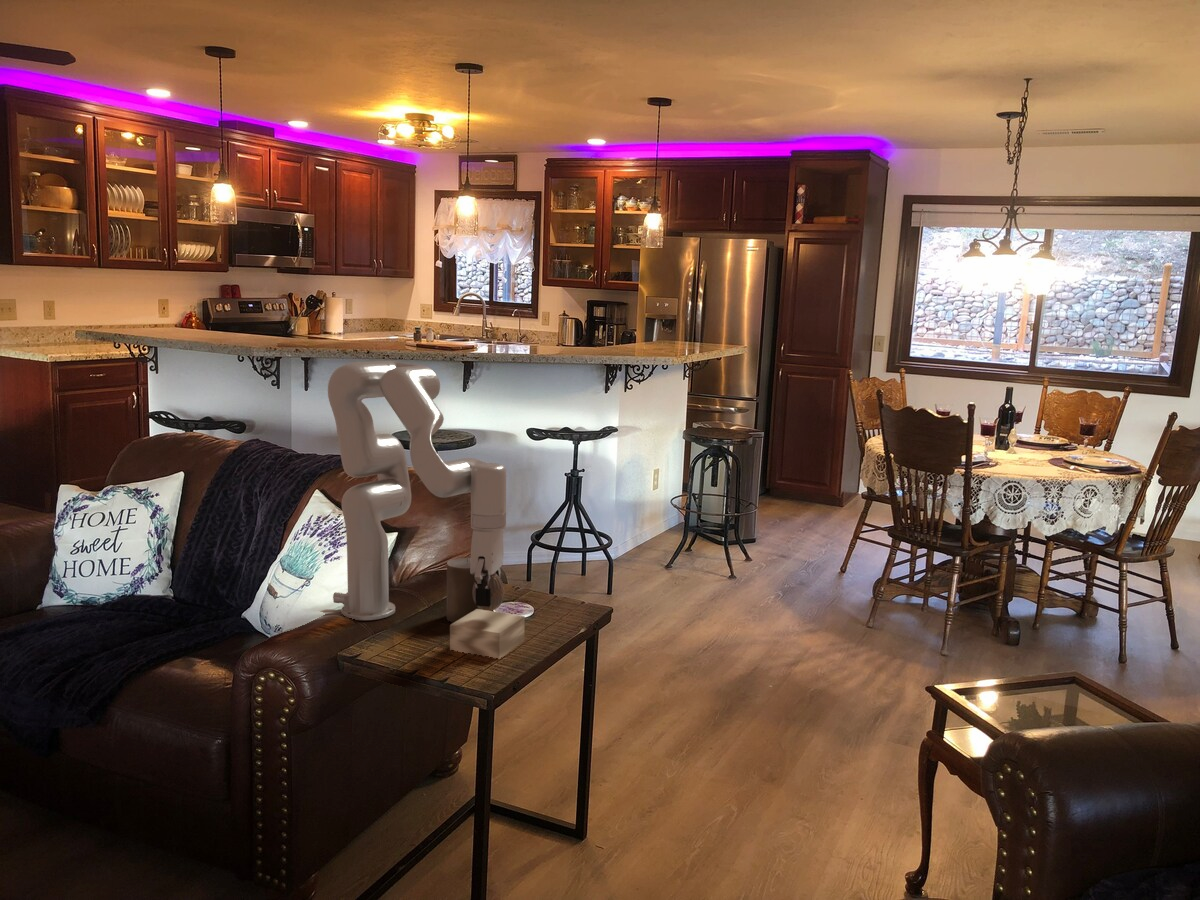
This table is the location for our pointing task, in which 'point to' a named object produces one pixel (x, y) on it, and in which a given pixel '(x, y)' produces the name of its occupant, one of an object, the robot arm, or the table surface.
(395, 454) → the robot arm
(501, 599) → the vase
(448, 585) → the pillar candle
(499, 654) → the maple block
